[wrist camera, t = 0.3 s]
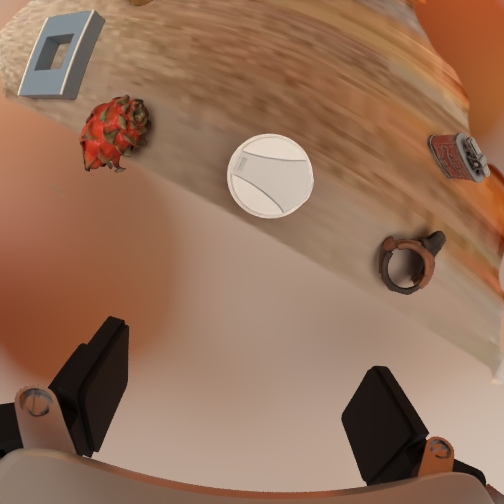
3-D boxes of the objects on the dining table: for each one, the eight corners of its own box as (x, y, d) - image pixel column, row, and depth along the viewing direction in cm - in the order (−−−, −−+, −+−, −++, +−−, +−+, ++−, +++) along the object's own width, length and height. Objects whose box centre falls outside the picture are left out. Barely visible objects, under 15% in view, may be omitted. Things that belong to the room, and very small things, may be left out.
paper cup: (222, 189, 38) (212, 201, 24) (244, 136, 36) (247, 118, 23) (277, 211, 39) (296, 234, 26) (299, 159, 37) (330, 155, 24)
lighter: (458, 170, 38) (498, 175, 28) (447, 182, 38) (488, 189, 29) (434, 130, 36) (475, 127, 26) (423, 142, 37) (464, 140, 27)
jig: (59, 25, 28) (47, 17, 24) (105, 20, 29) (94, 9, 25) (32, 98, 32) (17, 95, 28) (76, 99, 33) (61, 94, 29)
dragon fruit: (164, 107, 36) (111, 165, 39) (120, 73, 29) (68, 138, 33) (169, 130, 31) (109, 198, 34) (114, 88, 24) (56, 168, 28)
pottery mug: (404, 295, 44) (404, 312, 37) (368, 256, 46) (362, 266, 39) (453, 246, 39) (463, 255, 32) (415, 204, 41) (420, 205, 34)
